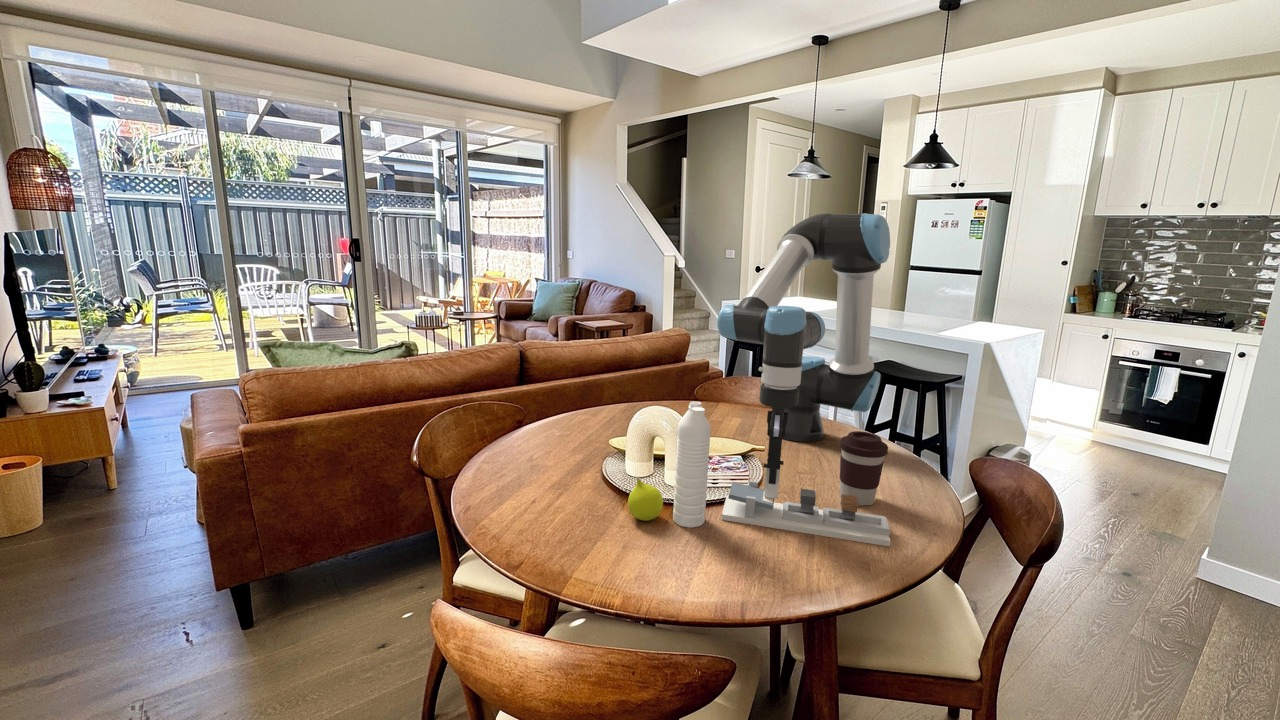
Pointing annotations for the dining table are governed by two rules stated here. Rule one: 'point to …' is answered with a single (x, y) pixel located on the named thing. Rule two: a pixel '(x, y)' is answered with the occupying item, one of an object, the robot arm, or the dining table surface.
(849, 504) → the slider
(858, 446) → the coffee cup
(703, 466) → the water bottle
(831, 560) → the dining table surface
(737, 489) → the rocker
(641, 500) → the ornament
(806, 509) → the slider
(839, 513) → the panel
